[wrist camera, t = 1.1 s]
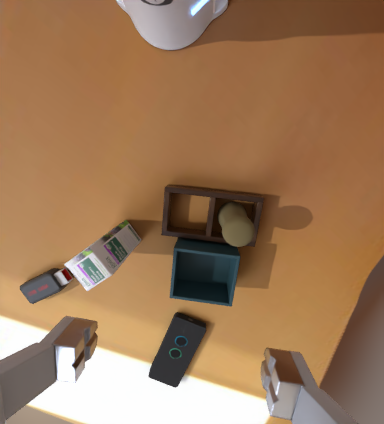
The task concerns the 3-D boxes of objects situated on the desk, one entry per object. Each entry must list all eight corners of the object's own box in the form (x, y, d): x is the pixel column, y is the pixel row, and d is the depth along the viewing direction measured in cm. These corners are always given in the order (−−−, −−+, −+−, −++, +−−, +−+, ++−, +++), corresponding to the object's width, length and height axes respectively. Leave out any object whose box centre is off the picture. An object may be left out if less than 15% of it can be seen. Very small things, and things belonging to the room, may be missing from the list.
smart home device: (207, 329, 48) (177, 388, 53) (207, 323, 49) (178, 381, 54) (174, 316, 48) (146, 377, 53) (175, 311, 49) (148, 370, 54)
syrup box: (142, 239, 46) (113, 275, 31) (122, 253, 47) (85, 293, 33) (126, 219, 45) (89, 245, 31) (106, 233, 46) (61, 265, 32)
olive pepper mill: (253, 216, 42) (268, 234, 32) (231, 235, 44) (238, 259, 33) (232, 195, 42) (240, 207, 31) (210, 215, 43) (211, 234, 32)
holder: (167, 184, 42) (164, 186, 39) (260, 195, 41) (264, 197, 38) (164, 230, 45) (161, 235, 42) (251, 241, 44) (254, 246, 41)
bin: (178, 235, 45) (174, 247, 38) (235, 242, 44) (240, 256, 38) (174, 279, 47) (169, 297, 41) (228, 286, 47) (231, 306, 40)
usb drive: (25, 282, 51) (15, 288, 48) (63, 263, 48) (55, 269, 46) (38, 299, 52) (28, 306, 49) (76, 281, 49) (68, 288, 47)
